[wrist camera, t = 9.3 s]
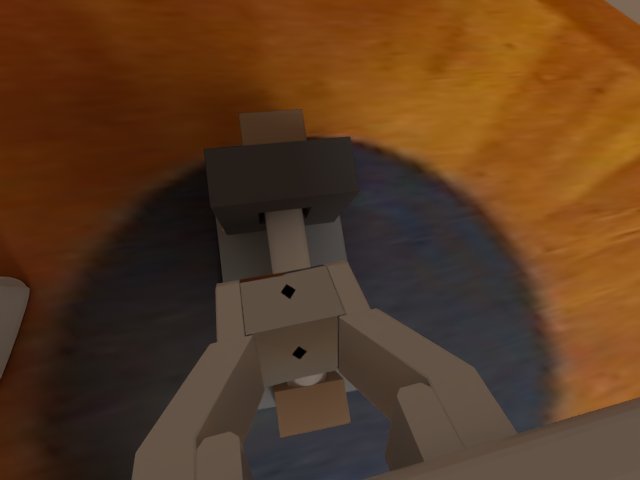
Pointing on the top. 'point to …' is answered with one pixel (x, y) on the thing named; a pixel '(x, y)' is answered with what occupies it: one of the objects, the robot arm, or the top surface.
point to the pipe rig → (281, 256)
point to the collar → (280, 181)
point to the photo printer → (10, 314)
